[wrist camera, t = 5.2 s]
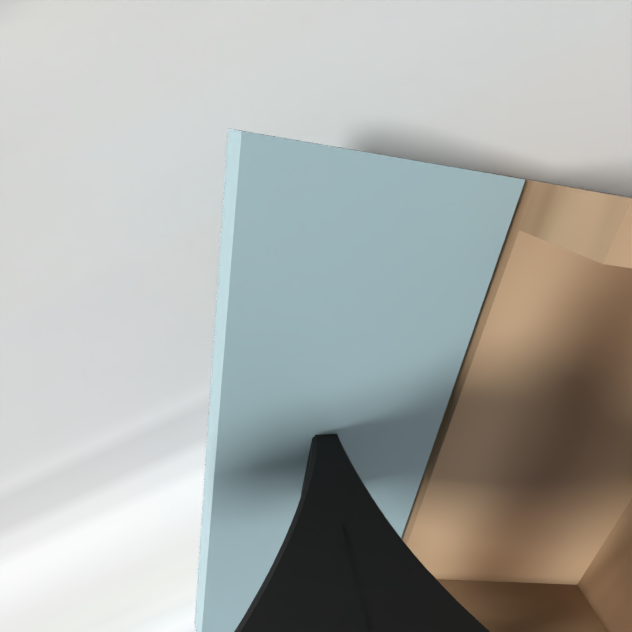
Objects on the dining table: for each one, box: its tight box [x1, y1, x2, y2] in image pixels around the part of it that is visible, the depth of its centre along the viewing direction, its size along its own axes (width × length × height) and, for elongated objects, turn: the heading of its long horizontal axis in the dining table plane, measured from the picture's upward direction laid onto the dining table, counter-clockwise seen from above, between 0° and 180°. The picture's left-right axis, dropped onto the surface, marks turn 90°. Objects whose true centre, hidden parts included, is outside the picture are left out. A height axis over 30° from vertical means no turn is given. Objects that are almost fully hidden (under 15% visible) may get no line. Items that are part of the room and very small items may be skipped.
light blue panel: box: [195, 129, 525, 632], centre depth 12 cm, size 1×16×7 cm
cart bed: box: [401, 172, 632, 632], centre depth 14 cm, size 9×16×6 cm, turn 171°
